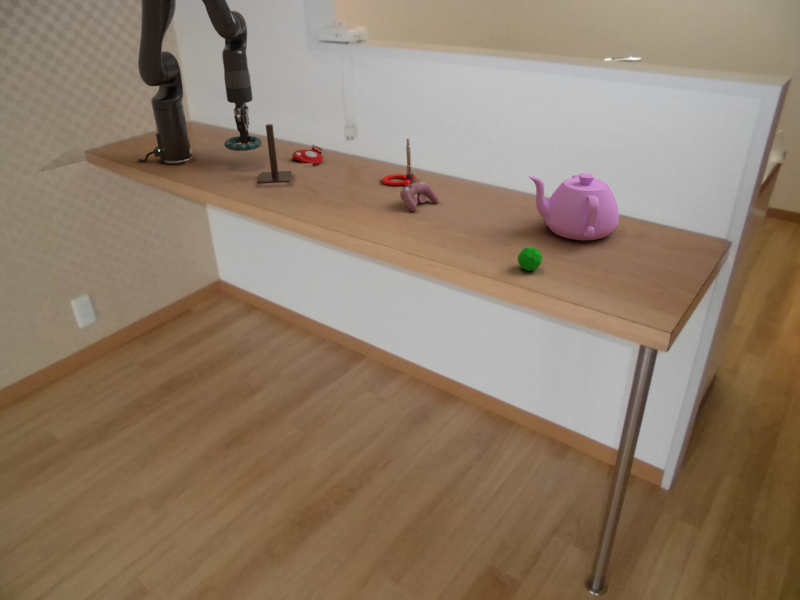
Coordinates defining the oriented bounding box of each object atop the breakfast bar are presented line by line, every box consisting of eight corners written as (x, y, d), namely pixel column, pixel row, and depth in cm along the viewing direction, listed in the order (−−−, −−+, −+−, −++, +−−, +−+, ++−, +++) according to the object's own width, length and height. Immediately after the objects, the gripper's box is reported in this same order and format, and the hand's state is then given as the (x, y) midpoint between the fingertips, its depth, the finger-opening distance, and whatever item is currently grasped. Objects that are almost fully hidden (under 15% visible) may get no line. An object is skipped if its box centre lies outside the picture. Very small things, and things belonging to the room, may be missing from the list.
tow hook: (377, 185, 179) (407, 187, 175) (374, 141, 173) (405, 142, 169) (389, 177, 186) (417, 179, 182) (386, 134, 179) (415, 135, 176)
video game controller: (429, 205, 168) (421, 180, 166) (440, 201, 164) (432, 176, 163) (403, 215, 162) (394, 189, 160) (414, 211, 158) (405, 185, 157)
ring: (222, 152, 184) (221, 145, 183) (228, 141, 193) (227, 135, 192) (259, 151, 185) (259, 144, 184) (263, 141, 194) (262, 134, 193)
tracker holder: (324, 162, 194) (292, 156, 192) (322, 174, 197) (290, 168, 195) (324, 143, 203) (294, 137, 201) (322, 155, 206) (292, 149, 204)
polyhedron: (512, 269, 130) (514, 248, 128) (525, 261, 133) (527, 241, 131) (532, 276, 127) (534, 255, 125) (545, 269, 130) (547, 248, 127)
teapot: (517, 213, 157) (522, 160, 151) (603, 213, 157) (611, 160, 150) (530, 249, 138) (536, 191, 131) (628, 250, 137) (639, 190, 131)
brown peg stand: (258, 186, 178) (251, 129, 170) (262, 176, 186) (255, 121, 178) (289, 185, 179) (283, 128, 171) (292, 175, 187) (286, 120, 178)
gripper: (228, 80, 190) (236, 136, 198) (221, 89, 178) (229, 148, 186) (253, 80, 190) (259, 136, 199) (248, 89, 178) (255, 148, 187)
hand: (245, 142), depth 193 cm, fingers closed on ring, 2 cm apart
